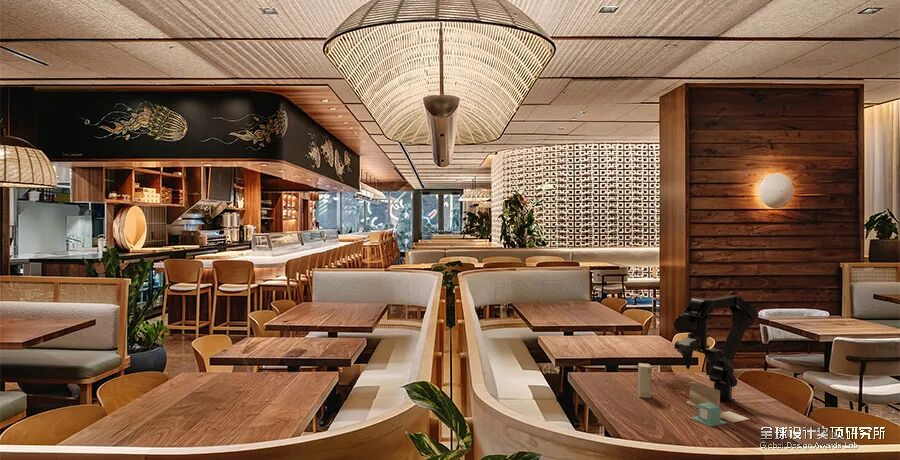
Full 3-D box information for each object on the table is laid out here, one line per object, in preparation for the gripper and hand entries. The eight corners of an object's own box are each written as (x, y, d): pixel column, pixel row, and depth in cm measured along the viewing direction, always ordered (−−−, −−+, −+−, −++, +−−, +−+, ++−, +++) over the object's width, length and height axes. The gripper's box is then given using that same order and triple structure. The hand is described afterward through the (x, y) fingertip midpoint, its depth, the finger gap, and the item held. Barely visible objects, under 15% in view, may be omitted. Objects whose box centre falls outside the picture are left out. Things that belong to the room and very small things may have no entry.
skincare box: (651, 398, 216) (652, 367, 216) (639, 397, 217) (640, 366, 217) (648, 393, 222) (649, 363, 222) (637, 392, 223) (638, 362, 223)
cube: (708, 416, 196) (708, 402, 196) (720, 421, 191) (720, 407, 191) (697, 418, 194) (697, 404, 194) (709, 423, 189) (709, 408, 189)
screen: (693, 402, 212) (694, 380, 212) (722, 414, 200) (723, 390, 200) (685, 404, 211) (686, 381, 211) (714, 415, 199) (715, 391, 199)
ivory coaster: (729, 412, 203) (729, 411, 203) (749, 419, 195) (749, 418, 195) (713, 414, 199) (713, 413, 199) (733, 422, 192) (733, 421, 192)
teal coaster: (707, 415, 198) (707, 414, 198) (727, 423, 191) (727, 422, 191) (691, 418, 195) (691, 417, 195) (710, 426, 187) (710, 425, 187)
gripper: (664, 327, 217) (663, 367, 217) (704, 337, 200) (702, 380, 200) (685, 326, 222) (684, 365, 222) (725, 335, 205) (724, 377, 205)
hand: (697, 371), depth 212 cm, fingers open, 9 cm apart
